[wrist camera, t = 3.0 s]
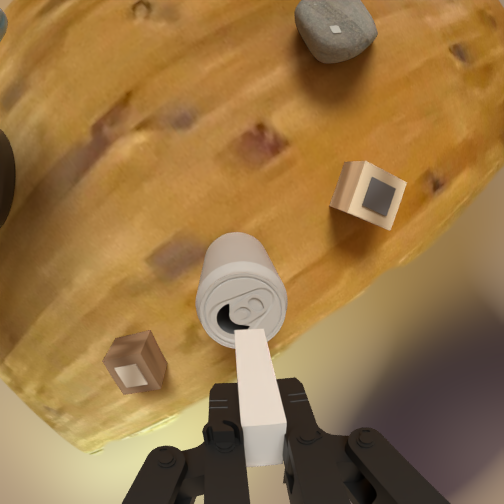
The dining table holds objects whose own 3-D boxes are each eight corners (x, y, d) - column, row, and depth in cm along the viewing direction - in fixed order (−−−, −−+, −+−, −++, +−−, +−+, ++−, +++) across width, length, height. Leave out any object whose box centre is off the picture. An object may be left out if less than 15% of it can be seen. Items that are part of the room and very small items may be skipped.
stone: (390, 50, 25) (403, 31, 17) (329, 78, 30) (321, 68, 21) (348, -6, 23) (345, -40, 15) (289, 23, 27) (267, -2, 19)
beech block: (328, 205, 30) (348, 212, 25) (344, 161, 29) (366, 160, 24) (367, 221, 30) (391, 231, 26) (382, 180, 29) (407, 182, 24)
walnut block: (133, 369, 33) (123, 395, 28) (115, 337, 32) (101, 362, 27) (167, 362, 33) (160, 390, 28) (150, 329, 32) (140, 354, 27)
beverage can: (192, 256, 30) (173, 308, 18) (241, 217, 29) (252, 247, 18) (231, 300, 31) (235, 369, 20) (279, 265, 31) (309, 318, 19)
